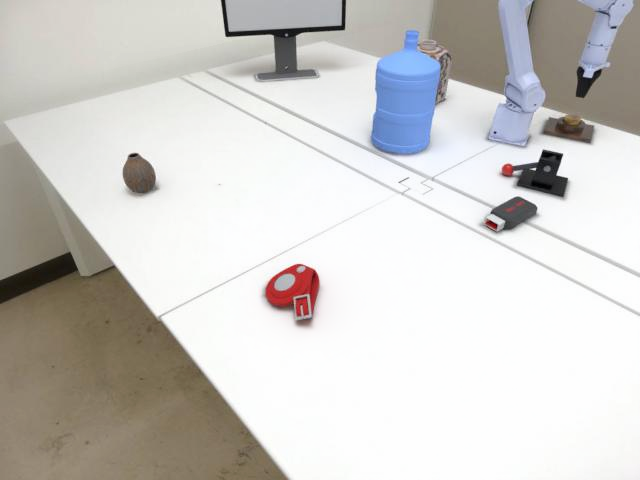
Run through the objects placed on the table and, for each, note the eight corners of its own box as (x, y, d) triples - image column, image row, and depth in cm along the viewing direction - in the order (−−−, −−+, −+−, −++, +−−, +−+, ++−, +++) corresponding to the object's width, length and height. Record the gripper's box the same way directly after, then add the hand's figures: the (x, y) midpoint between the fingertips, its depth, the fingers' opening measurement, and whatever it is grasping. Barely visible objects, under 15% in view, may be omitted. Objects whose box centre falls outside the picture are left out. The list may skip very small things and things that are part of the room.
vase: (164, 184, 107) (156, 150, 101) (146, 199, 102) (136, 164, 96) (139, 179, 109) (130, 145, 103) (121, 194, 104) (109, 159, 98)
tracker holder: (251, 291, 78) (289, 252, 82) (262, 307, 80) (298, 269, 85) (300, 316, 70) (339, 271, 74) (310, 333, 72) (347, 289, 77)
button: (562, 124, 126) (564, 118, 125) (564, 118, 129) (566, 113, 128) (578, 127, 124) (580, 121, 123) (579, 121, 127) (581, 115, 126)
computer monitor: (231, 83, 159) (214, -52, 134) (230, 75, 165) (213, -56, 140) (345, 75, 165) (349, -56, 140) (339, 67, 171) (343, -59, 146)
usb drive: (535, 214, 97) (539, 203, 95) (500, 235, 91) (504, 224, 90) (514, 203, 100) (518, 192, 99) (479, 222, 95) (482, 211, 93)
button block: (542, 134, 127) (545, 123, 125) (547, 120, 134) (551, 111, 132) (589, 143, 123) (593, 133, 121) (592, 129, 129) (596, 119, 127)
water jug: (441, 146, 121) (461, 34, 104) (395, 161, 115) (408, 45, 98) (403, 125, 132) (415, 20, 114) (359, 138, 125) (365, 29, 108)
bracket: (516, 186, 106) (525, 158, 101) (522, 171, 111) (531, 143, 107) (562, 197, 102) (573, 169, 97) (566, 181, 107) (577, 153, 103)
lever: (501, 178, 109) (499, 167, 108) (504, 173, 111) (501, 162, 110) (556, 170, 102) (553, 159, 101) (557, 165, 104) (555, 153, 103)
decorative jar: (395, 100, 146) (401, 41, 135) (414, 90, 153) (421, 33, 142) (427, 110, 140) (437, 49, 129) (446, 99, 147) (456, 40, 136)
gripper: (615, 53, 106) (594, 109, 115) (618, 37, 116) (598, 90, 125) (582, 49, 109) (564, 103, 118) (588, 34, 119) (570, 86, 128)
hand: (580, 96), depth 121 cm, fingers closed
